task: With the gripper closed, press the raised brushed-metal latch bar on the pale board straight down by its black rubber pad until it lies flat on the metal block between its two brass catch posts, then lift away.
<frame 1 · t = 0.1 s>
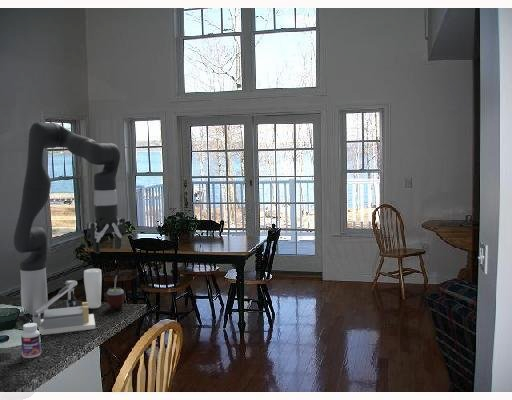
hand: (107, 250, 184), 29 cm above the counter, tool pointing down, fingers open, 8 cm apart
push button: (70, 306, 221), on the counter
mate gourd: (116, 309, 216), on the counter
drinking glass: (94, 307, 219), on the counter
latch bar: (55, 297, 194), point 11 cm above the counter, hinge at 35.0°
pill bottle: (31, 355, 170), on the counter
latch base: (62, 326, 196), on the counter
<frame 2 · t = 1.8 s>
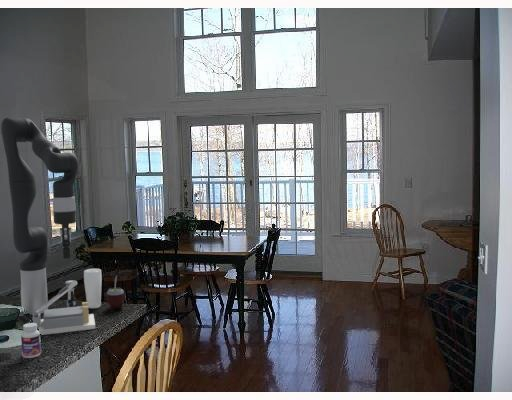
hand: (66, 257, 194), 25 cm above the counter, tool pointing down, fingers closed
nothing on the counter moved.
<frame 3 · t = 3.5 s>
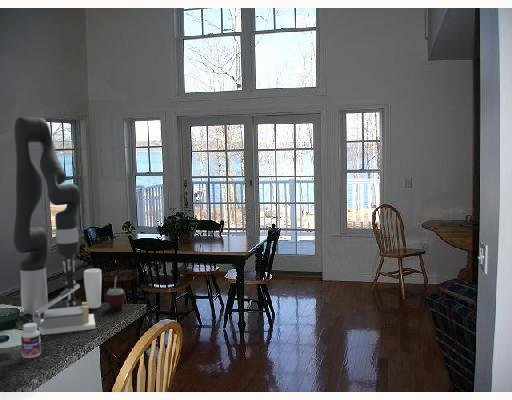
hand: (70, 288, 195), 14 cm above the counter, tool pointing down, fingers closed
latch bar: (56, 299, 194), point 10 cm above the counter, hinge at 29.9°, touching gripper
everything else where it was.
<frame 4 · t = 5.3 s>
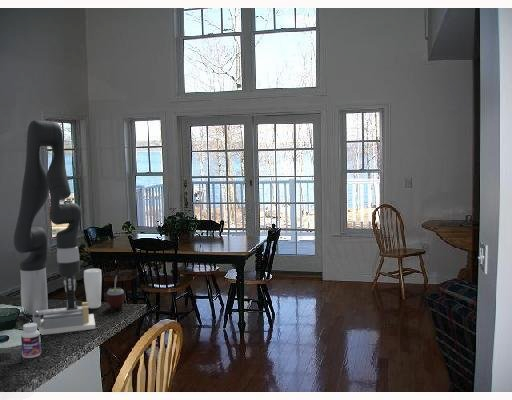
hand: (71, 307, 196), 7 cm above the counter, tool pointing down, fingers closed
latch bar: (60, 310, 195), point 6 cm above the counter, hinge at -0.4°, touching gripper, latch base
everything else where it was.
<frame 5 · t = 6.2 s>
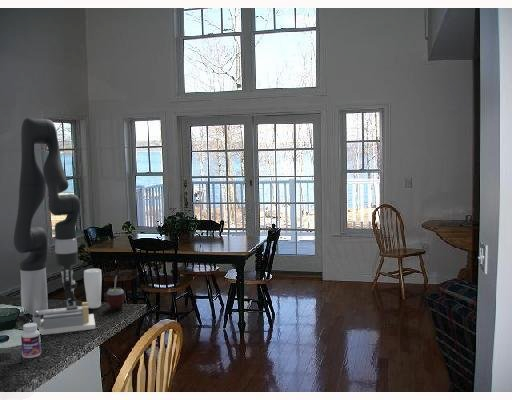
hand: (68, 298, 196), 10 cm above the counter, tool pointing down, fingers closed
latch bar: (60, 310, 195), point 6 cm above the counter, hinge at -0.4°, touching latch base
everything else where it was.
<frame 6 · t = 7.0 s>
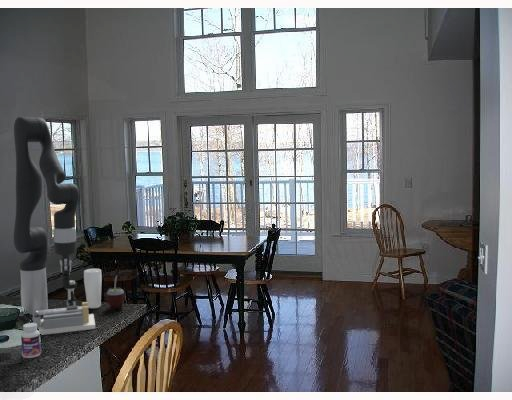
hand: (66, 287, 196), 14 cm above the counter, tool pointing down, fingers closed
nothing on the counter moved.
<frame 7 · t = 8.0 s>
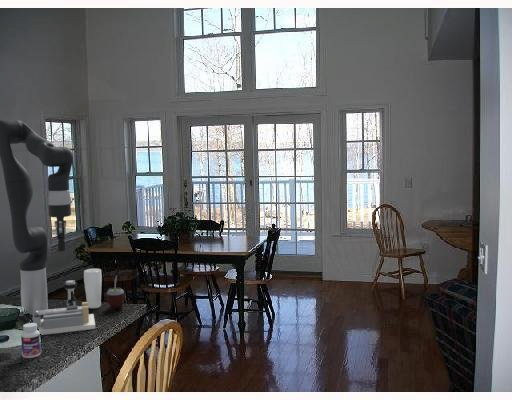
hand: (61, 250, 196), 27 cm above the counter, tool pointing down, fingers closed
nothing on the counter moved.
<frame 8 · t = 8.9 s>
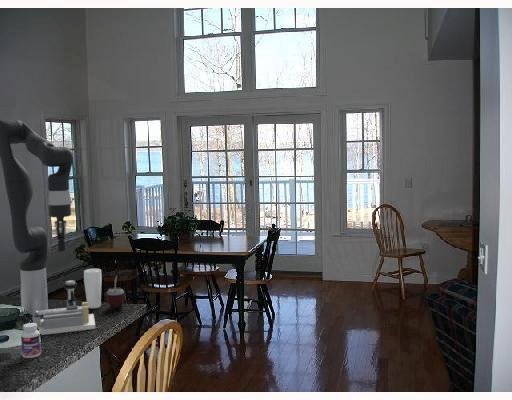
hand: (61, 250, 196), 27 cm above the counter, tool pointing down, fingers closed
nothing on the counter moved.
at the end: latch bar at +0° (first picture: +35°) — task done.
